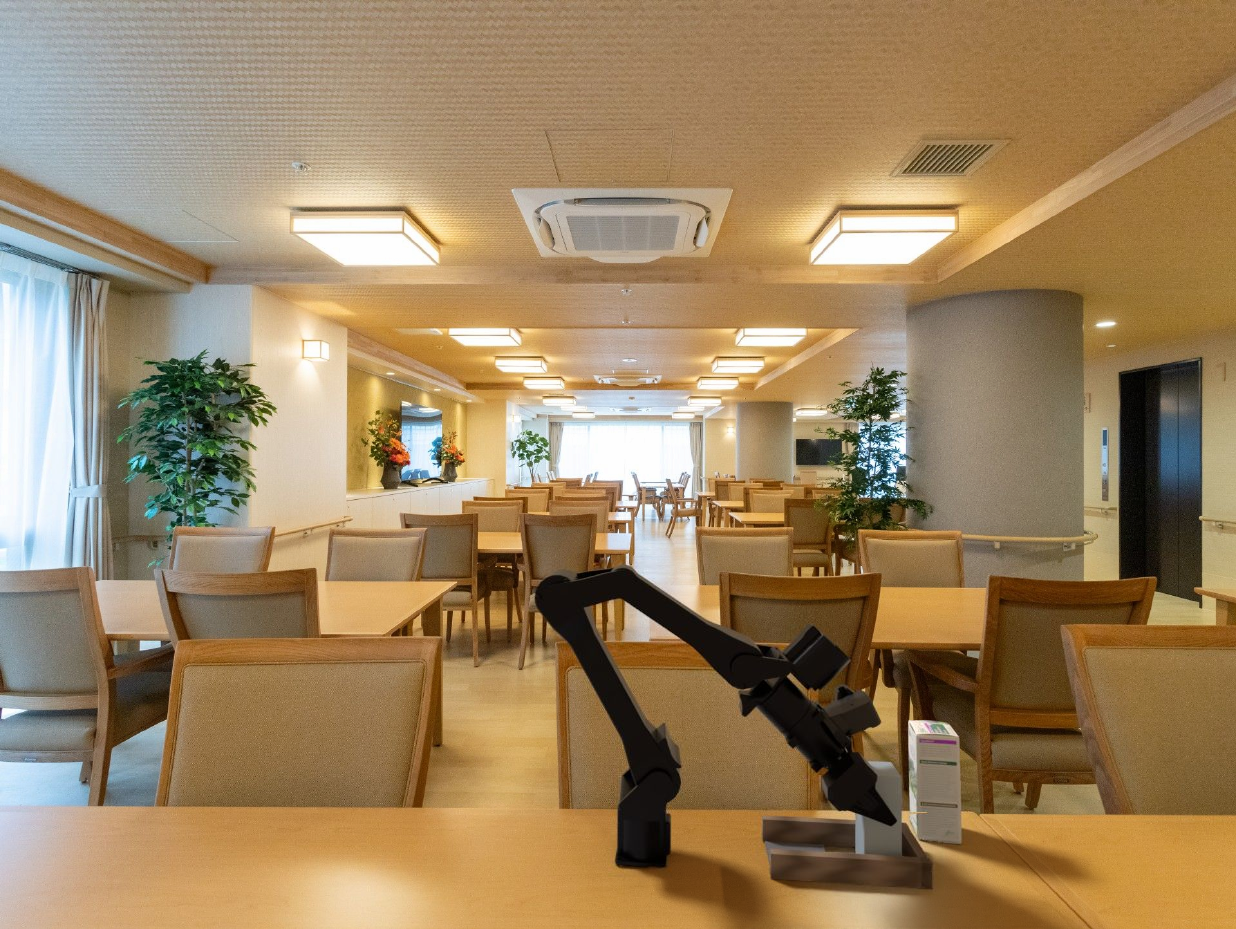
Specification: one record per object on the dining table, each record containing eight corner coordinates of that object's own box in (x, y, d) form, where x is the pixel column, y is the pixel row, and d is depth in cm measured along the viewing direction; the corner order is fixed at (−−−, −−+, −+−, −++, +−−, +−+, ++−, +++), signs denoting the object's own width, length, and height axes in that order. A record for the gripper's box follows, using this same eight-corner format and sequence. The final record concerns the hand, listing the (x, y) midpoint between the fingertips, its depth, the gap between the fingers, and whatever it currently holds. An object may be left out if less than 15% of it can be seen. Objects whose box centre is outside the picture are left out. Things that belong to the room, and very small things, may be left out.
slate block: (864, 872, 86) (864, 774, 86) (855, 853, 90) (855, 760, 91) (901, 874, 86) (901, 776, 86) (890, 855, 90) (890, 762, 90)
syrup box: (963, 845, 93) (962, 735, 93) (916, 840, 94) (915, 732, 94) (951, 824, 98) (951, 721, 99) (907, 820, 99) (907, 718, 100)
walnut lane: (770, 878, 84) (770, 853, 84) (761, 837, 94) (761, 815, 94) (932, 888, 83) (932, 863, 83) (906, 845, 92) (906, 822, 92)
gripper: (857, 694, 80) (958, 795, 78) (824, 654, 98) (906, 735, 97) (788, 760, 80) (887, 862, 79) (768, 708, 99) (848, 789, 98)
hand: (883, 805), depth 88 cm, fingers open, 9 cm apart
